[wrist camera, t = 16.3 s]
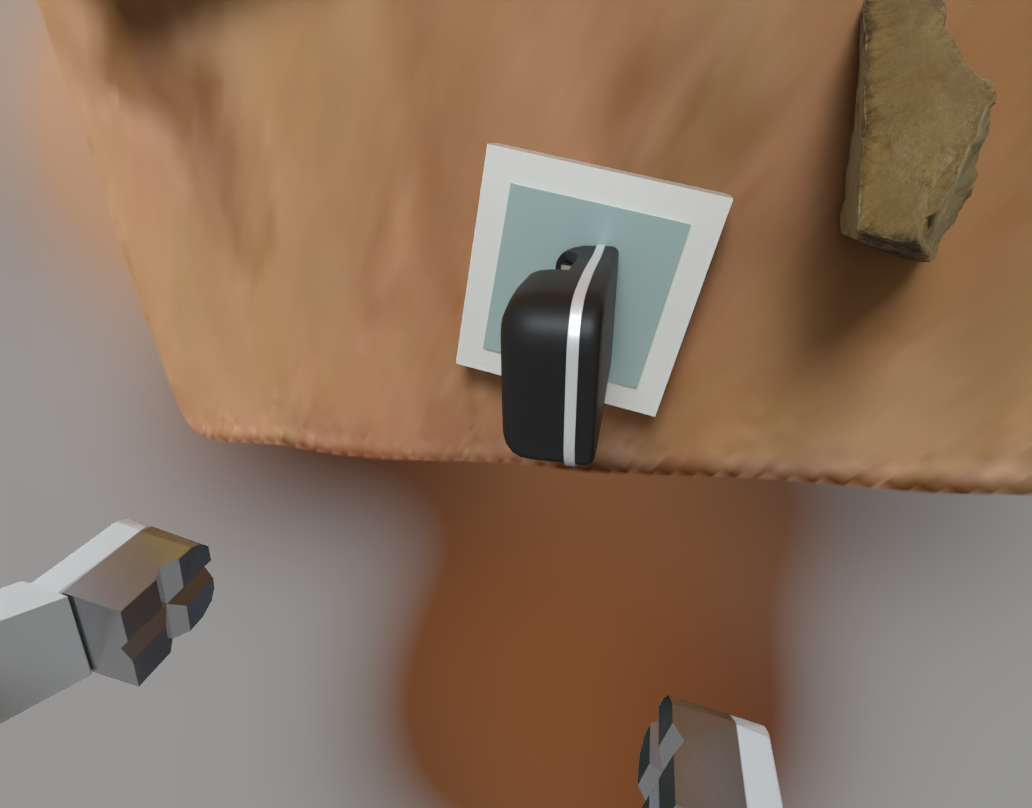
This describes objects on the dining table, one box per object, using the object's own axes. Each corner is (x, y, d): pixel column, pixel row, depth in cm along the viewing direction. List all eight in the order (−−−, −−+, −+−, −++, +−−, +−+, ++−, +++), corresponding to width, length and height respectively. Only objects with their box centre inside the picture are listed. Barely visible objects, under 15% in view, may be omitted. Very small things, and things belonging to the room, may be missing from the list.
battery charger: (544, 238, 28) (485, 299, 18) (620, 239, 27) (602, 305, 17) (543, 364, 31) (492, 476, 21) (610, 369, 30) (591, 487, 20)
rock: (825, -71, 21) (714, 200, 24) (1117, -143, 14) (903, 246, 18) (954, 45, 26) (848, 251, 30) (1208, 33, 19) (1030, 301, 23)
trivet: (728, 193, 27) (733, 199, 25) (654, 401, 33) (655, 418, 31) (497, 142, 28) (486, 144, 27) (465, 351, 34) (454, 364, 32)
